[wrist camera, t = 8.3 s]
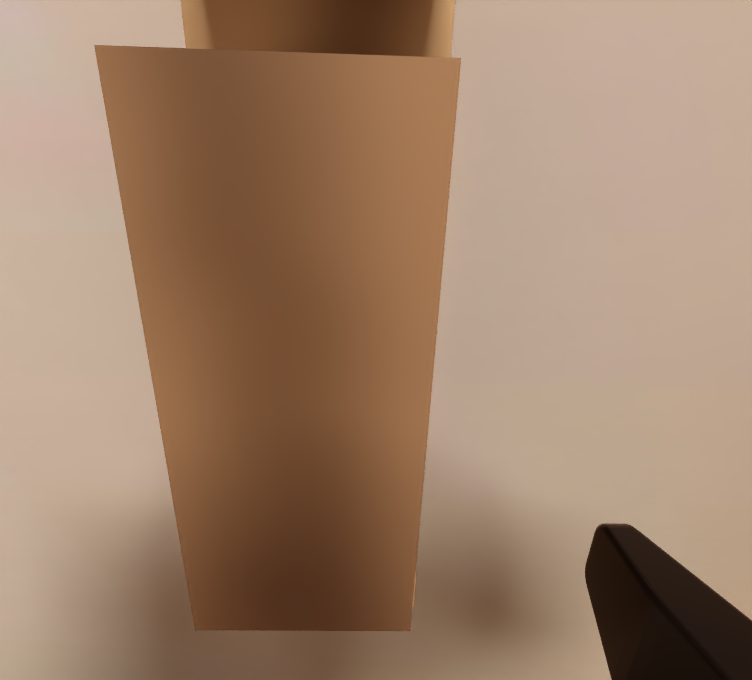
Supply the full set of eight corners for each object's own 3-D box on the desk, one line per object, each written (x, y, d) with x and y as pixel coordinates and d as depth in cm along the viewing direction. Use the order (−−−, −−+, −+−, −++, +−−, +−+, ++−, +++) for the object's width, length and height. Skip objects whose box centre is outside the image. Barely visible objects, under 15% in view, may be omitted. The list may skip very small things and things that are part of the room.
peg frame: (458, -98, 14) (514, -193, 9) (413, 487, 22) (429, 615, 17) (177, -110, 14) (65, -214, 9) (239, 485, 22) (202, 614, 17)
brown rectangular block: (421, 60, 13) (461, 58, 8) (396, 465, 18) (410, 630, 13) (207, 52, 13) (94, 45, 8) (244, 463, 18) (195, 630, 13)
